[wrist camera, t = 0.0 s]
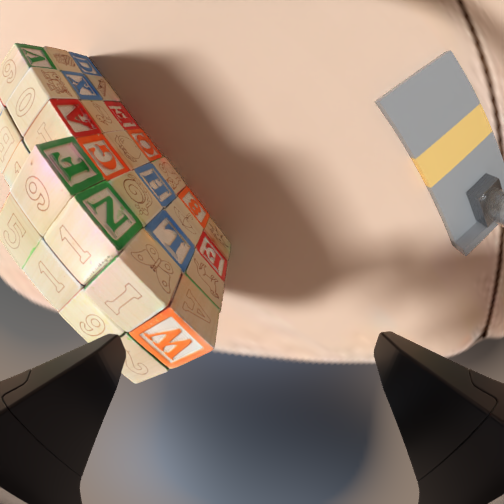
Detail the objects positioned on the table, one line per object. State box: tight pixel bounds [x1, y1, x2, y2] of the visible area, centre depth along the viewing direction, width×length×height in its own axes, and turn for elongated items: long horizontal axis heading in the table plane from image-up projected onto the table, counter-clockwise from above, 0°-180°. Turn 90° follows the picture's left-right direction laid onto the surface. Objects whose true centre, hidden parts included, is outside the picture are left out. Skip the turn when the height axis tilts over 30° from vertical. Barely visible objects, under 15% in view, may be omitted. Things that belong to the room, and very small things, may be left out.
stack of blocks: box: [0, 43, 231, 383], centre depth 15 cm, size 21×6×12 cm, turn 35°
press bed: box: [375, 51, 504, 256], centre depth 18 cm, size 16×10×2 cm, turn 42°
